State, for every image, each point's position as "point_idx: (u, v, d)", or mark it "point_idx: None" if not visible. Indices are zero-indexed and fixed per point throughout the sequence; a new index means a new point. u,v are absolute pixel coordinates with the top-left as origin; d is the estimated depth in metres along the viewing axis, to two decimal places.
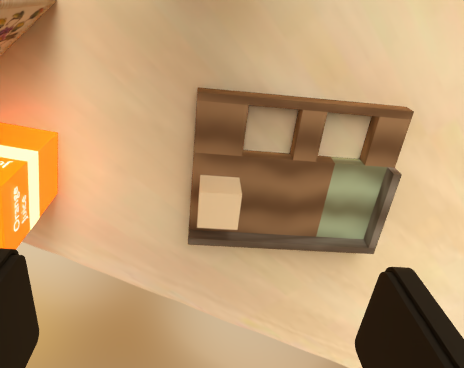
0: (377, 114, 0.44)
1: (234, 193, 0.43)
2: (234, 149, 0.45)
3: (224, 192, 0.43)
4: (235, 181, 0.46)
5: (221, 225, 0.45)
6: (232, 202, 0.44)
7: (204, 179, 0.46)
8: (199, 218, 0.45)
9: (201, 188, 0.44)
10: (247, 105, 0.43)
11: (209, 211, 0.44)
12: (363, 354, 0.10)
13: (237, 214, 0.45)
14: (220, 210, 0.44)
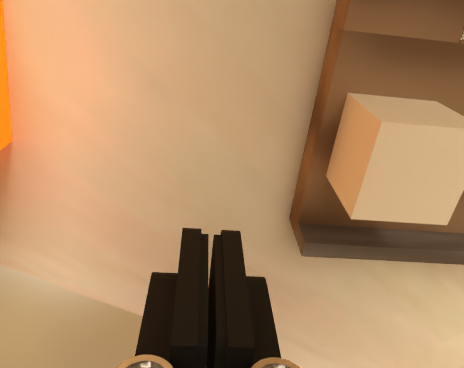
0: None
1: None
2: (445, 23, 0.18)
3: (444, 125, 0.16)
4: (438, 106, 0.19)
5: (412, 214, 0.18)
6: (458, 152, 0.17)
7: (366, 100, 0.18)
8: (363, 195, 0.17)
9: (378, 114, 0.16)
10: None
11: (393, 177, 0.17)
12: None
13: (460, 185, 0.17)
14: (420, 174, 0.17)
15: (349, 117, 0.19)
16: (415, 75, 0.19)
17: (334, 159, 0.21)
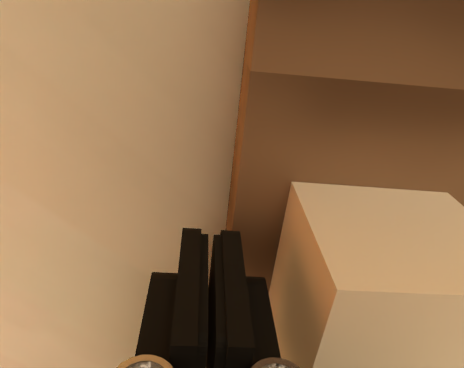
0: None
1: None
2: (442, 55, 0.10)
3: None
4: (452, 211, 0.10)
5: None
6: None
7: (319, 205, 0.10)
8: None
9: (333, 259, 0.08)
10: None
11: None
12: None
13: None
14: None
15: (292, 229, 0.11)
16: (391, 146, 0.11)
17: (275, 286, 0.12)
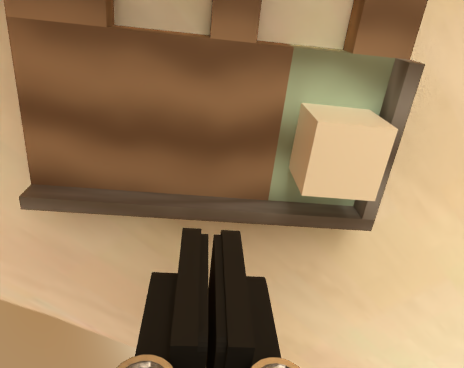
0: None
1: (383, 127, 0.22)
2: (88, 10, 0.23)
3: (364, 125, 0.22)
4: (368, 113, 0.25)
5: (347, 192, 0.24)
6: (376, 144, 0.23)
7: (313, 108, 0.25)
8: (309, 176, 0.23)
9: (317, 117, 0.23)
10: None
11: (330, 163, 0.23)
12: None
13: (381, 170, 0.23)
14: (350, 161, 0.23)
15: (302, 120, 0.25)
16: (81, 54, 0.24)
17: (293, 153, 0.27)
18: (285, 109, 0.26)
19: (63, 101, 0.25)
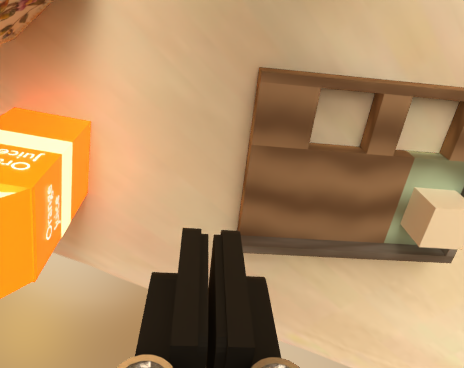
0: None
1: None
2: (299, 141, 0.38)
3: (461, 208, 0.38)
4: (456, 195, 0.41)
5: (446, 244, 0.40)
6: None
7: (424, 193, 0.41)
8: (425, 237, 0.40)
9: (433, 203, 0.39)
10: (319, 88, 0.36)
11: (439, 229, 0.39)
12: None
13: None
14: (450, 228, 0.39)
15: (416, 199, 0.41)
16: (289, 163, 0.40)
17: (406, 216, 0.43)
18: (404, 191, 0.42)
19: (271, 188, 0.41)
